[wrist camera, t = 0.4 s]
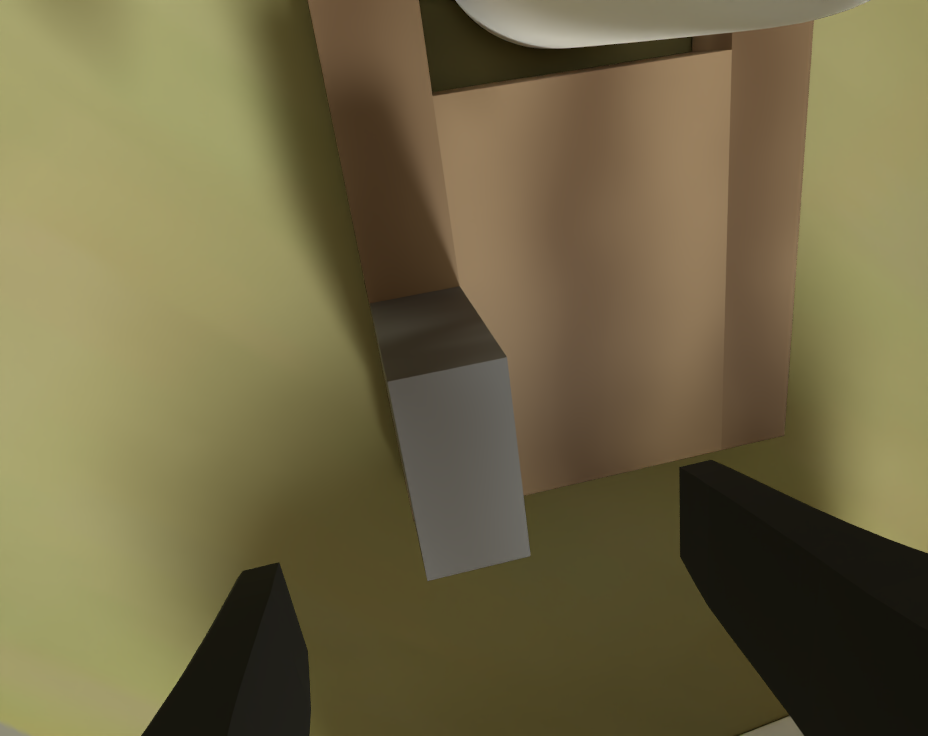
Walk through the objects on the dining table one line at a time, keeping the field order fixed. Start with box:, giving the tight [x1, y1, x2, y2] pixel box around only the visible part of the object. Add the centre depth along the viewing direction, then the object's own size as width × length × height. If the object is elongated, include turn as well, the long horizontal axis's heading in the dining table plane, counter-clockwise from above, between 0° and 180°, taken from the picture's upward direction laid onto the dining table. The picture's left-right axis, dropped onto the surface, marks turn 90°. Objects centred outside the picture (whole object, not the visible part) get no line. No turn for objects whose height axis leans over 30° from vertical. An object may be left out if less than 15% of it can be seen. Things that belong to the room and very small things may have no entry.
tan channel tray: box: [308, 0, 814, 581], centre depth 16 cm, size 12×21×7 cm, turn 8°
